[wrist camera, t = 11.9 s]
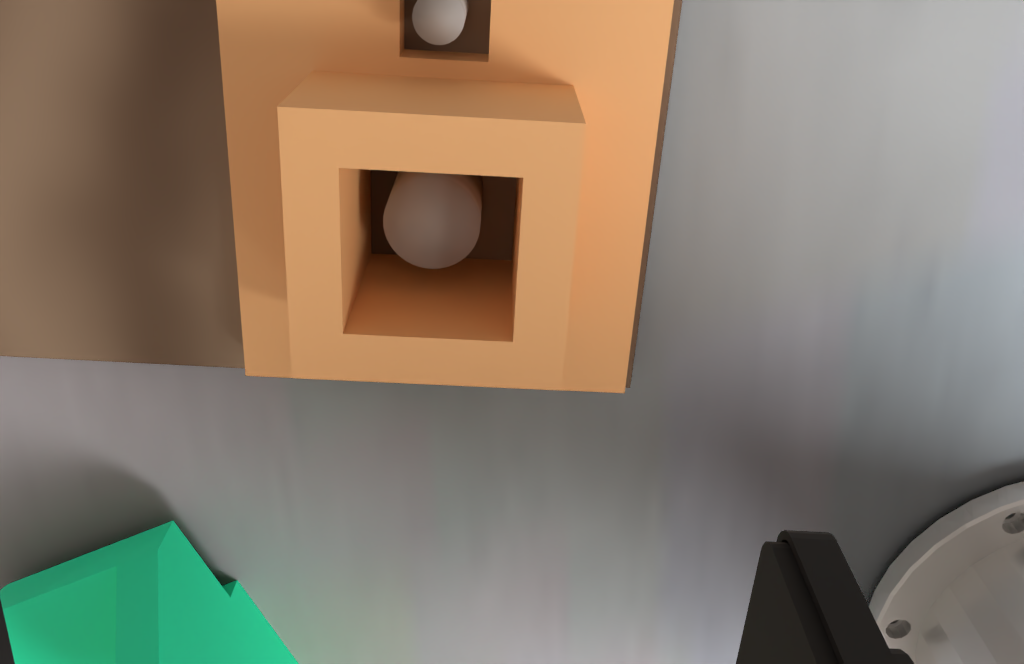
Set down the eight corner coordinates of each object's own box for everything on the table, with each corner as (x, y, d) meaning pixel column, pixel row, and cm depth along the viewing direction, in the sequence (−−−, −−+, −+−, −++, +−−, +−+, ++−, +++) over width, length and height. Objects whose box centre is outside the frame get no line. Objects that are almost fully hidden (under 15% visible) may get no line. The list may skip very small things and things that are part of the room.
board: (680, -34, 24) (710, -19, 21) (626, 372, 29) (643, 441, 26) (-393, -105, 23) (-557, -102, 20) (-250, 327, 29) (-359, 392, 25)
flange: (255, 356, 28) (205, 452, 23) (226, -36, 23) (157, -14, 18) (620, 373, 28) (642, 471, 24) (666, -10, 23) (707, 19, 19)
